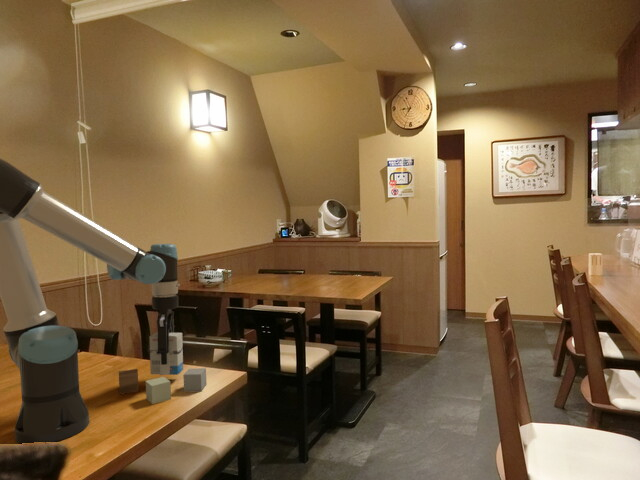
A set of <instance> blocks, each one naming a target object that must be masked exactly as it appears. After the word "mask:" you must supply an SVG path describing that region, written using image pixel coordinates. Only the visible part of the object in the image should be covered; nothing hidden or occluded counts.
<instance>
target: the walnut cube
mask: <svg viewBox="0 0 640 480" xmlns="http://www.w3.org/2000/svg"><path fill="white" fill-rule="evenodd" d="M118 383H119V384H118V390H119V391H118V392H119V395H121V394H128V393H134V392H139V390H140V389H139V371H138V368H134V369H127V370H121V371H118Z"/></svg>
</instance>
